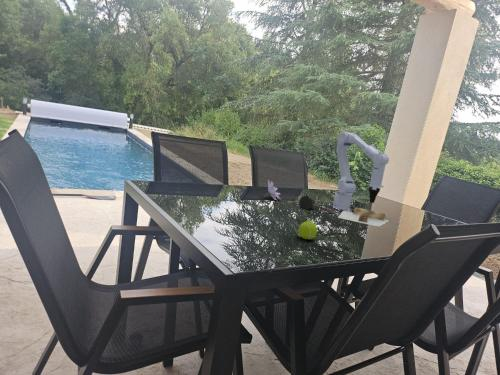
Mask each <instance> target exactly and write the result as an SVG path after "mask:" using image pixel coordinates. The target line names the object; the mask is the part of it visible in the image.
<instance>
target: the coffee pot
mask: <svg viewBox="0 0 500 375" xmlns="http://www.w3.org/2000/svg"><path fill="white" fill-rule="evenodd" d="M315 201H316V200H315V199H313V198H312V197H311V196H310V195H304V196H303V195H302V196H301V197H300V199H299V201H298V202H299V204H298V205H299V207H300V208H301V209H303V210H306V211H307V210H310V209H311V208H313V207H315V208H318V209H321V210H323V211H325V212H329V213H335V211H334V210H333V209H331V208H330V209H329V208H327V207H323V206H320V205H319V204H318V205H317V204H316V202H315Z"/></svg>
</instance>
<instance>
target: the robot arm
mask: <svg viewBox="0 0 500 375" xmlns="http://www.w3.org/2000/svg"><path fill="white" fill-rule="evenodd" d="M336 140H337V144H336V154H337V159H338V160H337V161H338V167H339V168H338V169H339V174H340V175H339V176H340V179H339V180H338V181H337V184H338V185H337V191H338V192H335V194H334V198H333V203H332V208H333V209H338V210H342V211H343V210H344V211H349V212H351V211H350V210H351V208H350V207H351V202H352V198H353V195H354V194H355V193H356V191H357V185H356V184H355V181H354V178H352V176H351V171H350V170H351V169H350V164H349V163H350V162H349V156H348V149H349V148H351V147H352V146H353V145H354V144H355V146H357V147H359V148H360V149H362V150H363V152H364V154H365V155H366V156H367V157H368V158H369V159H371V160H372V162H373V163H372V164H373V168H372V173H371V178H370V182H369V184H368V185H369V188H368V194H369V198H368V199H369V203H372V204H374V203H375V201H376V199H377V196H378V194H379V193H380V191H381V188H384V185H382V184H383V183H382V182H383V178H384V174H385V169H386V165H387V164H388V163H389V161H390V160H389V158H390V157H389V156H388V155H387V154H385V153H383V152H382V151H381V150H379V149H377V148H376V145H372V144H371V145H370V144H368V143H366V142H365V141H364V140H363V139H362V138H361V137H360V136H359V134H358V135H357V134H356V133H354V132H347V131H341V132H339V134H338V135H337V136H336Z"/></svg>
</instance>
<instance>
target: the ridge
mask: <svg viewBox="0 0 500 375" xmlns="http://www.w3.org/2000/svg"><path fill="white" fill-rule="evenodd" d="M367 220H368V216H367V214H366V213H362V215H360V217H359V221H361V222H366V223H367Z"/></svg>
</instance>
